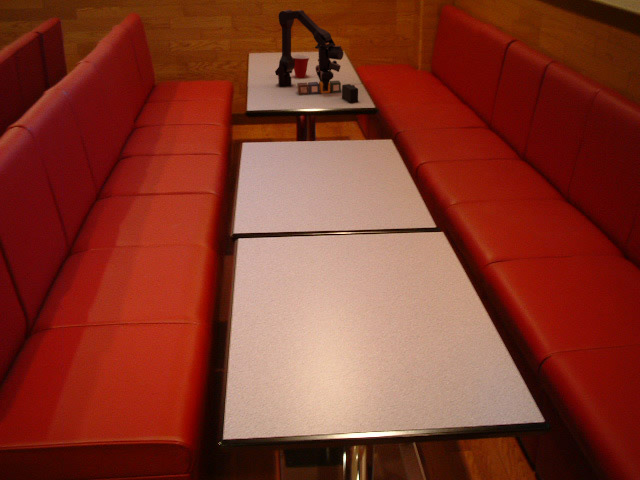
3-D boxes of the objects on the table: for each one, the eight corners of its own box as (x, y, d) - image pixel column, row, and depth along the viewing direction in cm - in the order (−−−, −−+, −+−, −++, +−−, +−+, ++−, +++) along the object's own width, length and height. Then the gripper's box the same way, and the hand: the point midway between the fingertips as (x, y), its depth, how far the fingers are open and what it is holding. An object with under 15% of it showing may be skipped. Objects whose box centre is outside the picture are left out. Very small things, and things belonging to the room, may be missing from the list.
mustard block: (320, 93, 335) (320, 83, 333) (319, 90, 340) (318, 81, 338) (330, 92, 336) (330, 83, 334) (328, 90, 341) (328, 81, 338)
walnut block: (299, 94, 333) (298, 85, 331) (297, 92, 338) (297, 83, 336) (308, 94, 334) (308, 84, 332) (306, 91, 339) (306, 82, 336)
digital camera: (360, 102, 320) (360, 88, 316) (350, 103, 318) (350, 89, 315) (351, 97, 328) (351, 83, 325) (342, 98, 326) (342, 84, 323)
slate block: (310, 94, 334) (309, 84, 332) (308, 91, 339) (308, 82, 337) (319, 93, 335) (319, 84, 333) (317, 91, 340) (317, 81, 337)
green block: (331, 92, 336) (331, 83, 334) (329, 90, 341) (329, 80, 338) (340, 92, 337) (340, 82, 335) (338, 89, 341) (338, 80, 339)
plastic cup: (313, 77, 367) (313, 56, 361) (298, 80, 362) (297, 58, 356) (303, 73, 375) (303, 52, 369) (288, 76, 370) (287, 55, 364)
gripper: (343, 60, 323) (343, 91, 330) (335, 53, 339) (335, 82, 346) (321, 62, 321) (322, 92, 328) (315, 54, 337) (315, 83, 345)
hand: (324, 87), depth 337 cm, fingers open, 9 cm apart
